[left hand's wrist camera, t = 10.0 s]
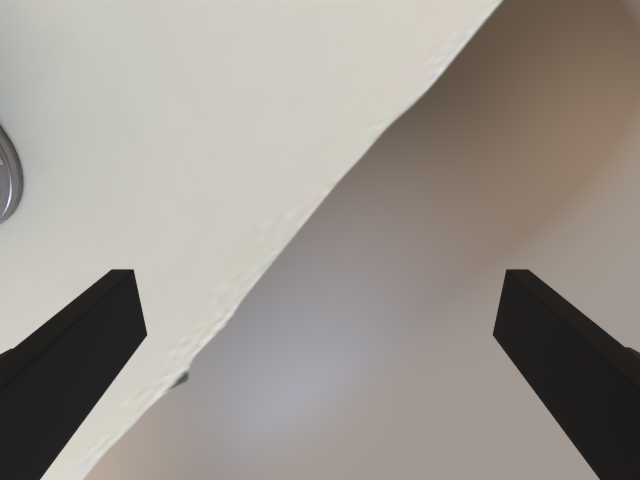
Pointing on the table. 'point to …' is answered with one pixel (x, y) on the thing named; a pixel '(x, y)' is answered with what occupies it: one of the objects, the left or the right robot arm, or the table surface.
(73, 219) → the table surface
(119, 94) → the table surface
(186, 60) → the table surface
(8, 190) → the left robot arm
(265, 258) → the table surface
